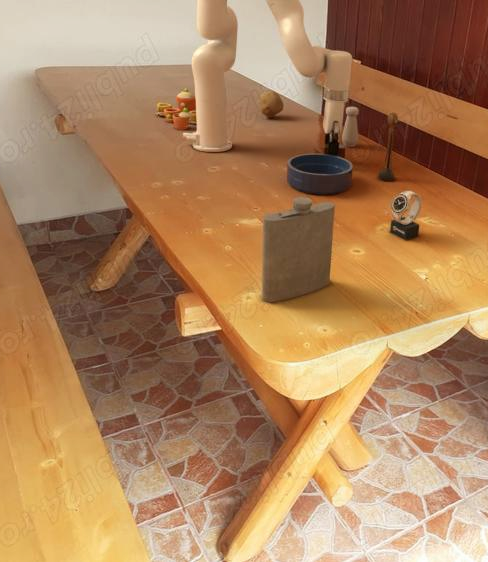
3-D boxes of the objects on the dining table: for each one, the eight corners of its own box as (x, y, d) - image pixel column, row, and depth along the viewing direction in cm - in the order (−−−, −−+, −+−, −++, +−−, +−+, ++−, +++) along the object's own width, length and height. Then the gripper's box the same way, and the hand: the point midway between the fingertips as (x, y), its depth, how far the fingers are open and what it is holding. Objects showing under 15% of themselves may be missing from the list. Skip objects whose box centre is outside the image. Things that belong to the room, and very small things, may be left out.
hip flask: (323, 277, 137) (329, 188, 127) (335, 285, 134) (341, 195, 124) (259, 296, 128) (259, 203, 118) (270, 306, 125) (271, 211, 115)
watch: (384, 233, 158) (388, 191, 153) (407, 226, 163) (412, 186, 158) (399, 242, 155) (405, 199, 149) (423, 234, 159) (429, 193, 154)
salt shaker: (356, 148, 218) (359, 110, 211) (339, 146, 218) (342, 108, 212) (359, 144, 223) (362, 106, 216) (343, 141, 223) (345, 104, 217)
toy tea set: (151, 112, 239) (149, 86, 234) (191, 109, 246) (190, 84, 242) (173, 132, 220) (171, 103, 215) (216, 128, 227) (215, 100, 222)
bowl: (288, 195, 176) (289, 174, 173) (285, 172, 192) (286, 152, 190) (355, 196, 179) (356, 176, 176) (346, 173, 195) (348, 154, 192)
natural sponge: (284, 115, 248) (285, 89, 243) (280, 121, 240) (281, 95, 236) (261, 113, 249) (262, 87, 244) (256, 119, 241) (257, 92, 236)
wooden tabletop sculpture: (398, 182, 192) (406, 115, 182) (384, 183, 190) (391, 116, 180) (389, 175, 196) (396, 110, 187) (375, 176, 194) (382, 110, 185)
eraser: (322, 164, 201) (323, 147, 198) (321, 160, 204) (322, 143, 202) (345, 165, 202) (346, 148, 199) (343, 161, 205) (344, 144, 203)
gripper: (321, 86, 200) (316, 140, 208) (326, 101, 185) (321, 158, 193) (344, 88, 201) (339, 141, 209) (352, 102, 186) (346, 159, 194)
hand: (331, 149), depth 201 cm, fingers open, 9 cm apart
